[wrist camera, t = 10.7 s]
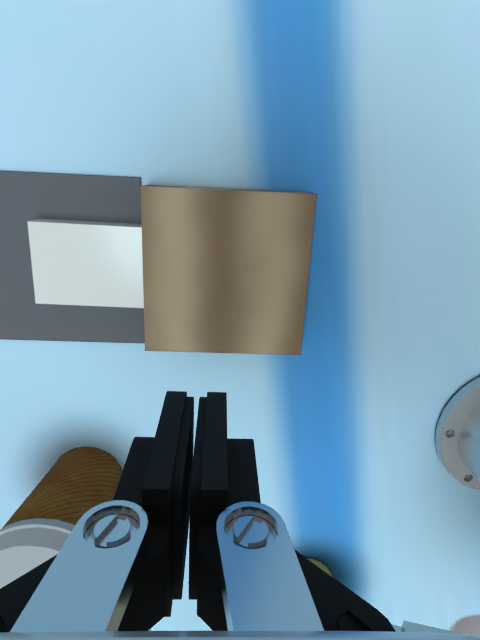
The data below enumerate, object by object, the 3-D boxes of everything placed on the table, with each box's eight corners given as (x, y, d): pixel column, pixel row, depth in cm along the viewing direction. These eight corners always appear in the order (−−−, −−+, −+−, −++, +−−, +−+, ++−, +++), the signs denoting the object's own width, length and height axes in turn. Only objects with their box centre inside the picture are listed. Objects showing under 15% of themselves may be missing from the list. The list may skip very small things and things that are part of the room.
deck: (308, 192, 32) (316, 194, 30) (294, 340, 36) (300, 354, 33) (147, 185, 32) (140, 186, 29) (151, 336, 36) (144, 350, 33)
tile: (147, 224, 32) (142, 227, 30) (148, 300, 34) (144, 308, 32) (38, 218, 32) (27, 221, 30) (46, 296, 34) (35, 303, 32)
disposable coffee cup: (36, 511, 41) (-36, 641, 30) (36, 425, 38) (-43, 533, 27) (136, 520, 42) (105, 650, 30) (144, 437, 39) (112, 546, 27)
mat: (140, 177, 32) (140, 177, 31) (145, 341, 36) (144, 343, 35) (-28, 169, 31) (-30, 169, 31) (-3, 337, 35) (-5, 339, 35)
